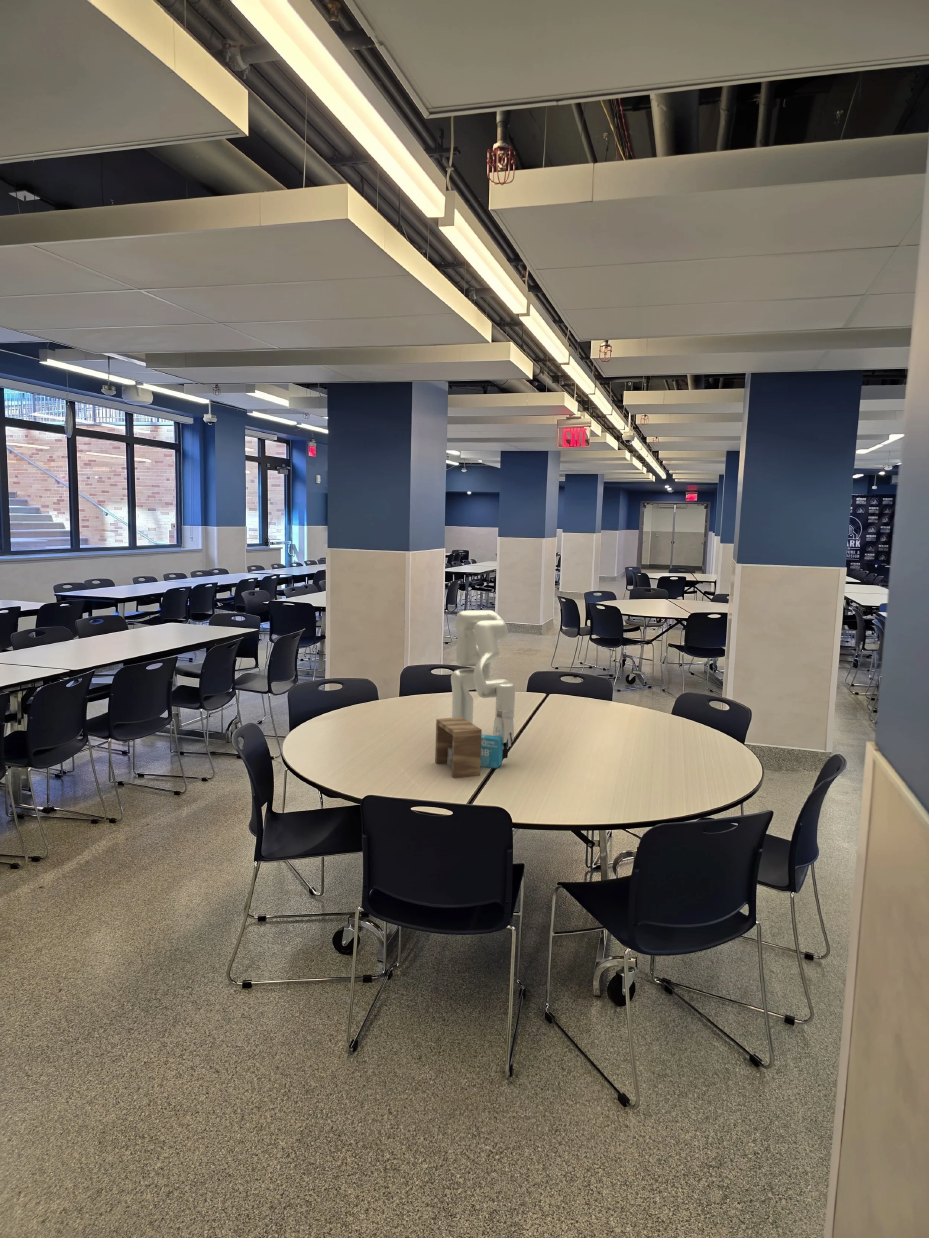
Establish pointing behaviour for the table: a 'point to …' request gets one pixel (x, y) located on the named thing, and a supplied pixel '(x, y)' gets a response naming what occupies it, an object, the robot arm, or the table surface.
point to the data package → (491, 751)
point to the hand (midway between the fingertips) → (503, 757)
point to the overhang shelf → (458, 746)
